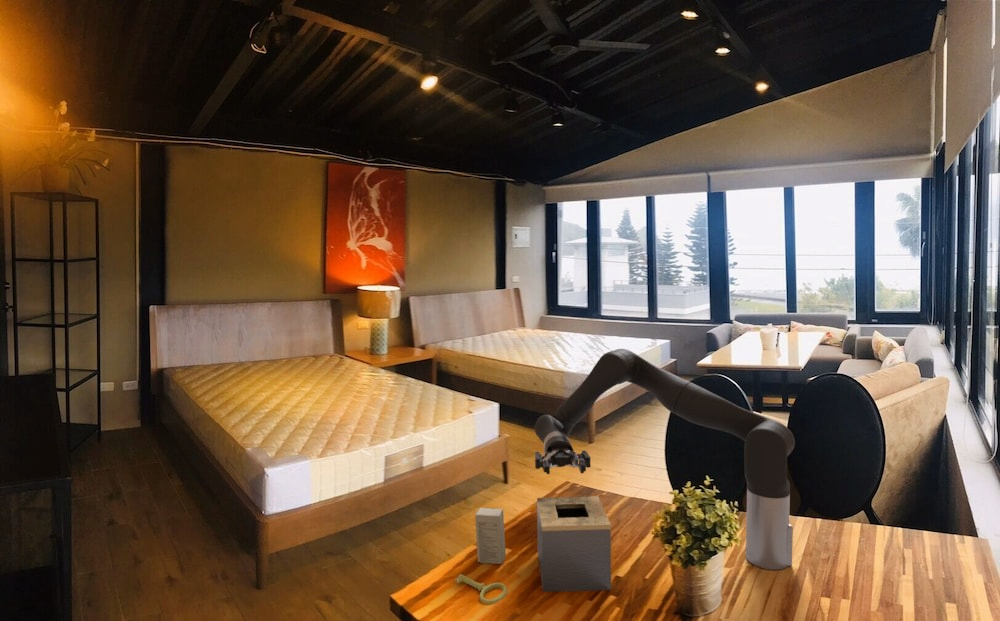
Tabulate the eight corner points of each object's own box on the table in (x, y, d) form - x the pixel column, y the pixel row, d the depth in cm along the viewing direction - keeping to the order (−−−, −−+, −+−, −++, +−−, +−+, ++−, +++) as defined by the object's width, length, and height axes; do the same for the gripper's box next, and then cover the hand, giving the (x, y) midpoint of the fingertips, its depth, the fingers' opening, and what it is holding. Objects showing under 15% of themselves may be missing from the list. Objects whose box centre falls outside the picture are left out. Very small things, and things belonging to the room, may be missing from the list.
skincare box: (505, 556, 144) (504, 508, 142) (501, 565, 139) (500, 516, 138) (480, 553, 145) (479, 506, 144) (476, 562, 141) (474, 514, 140)
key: (458, 581, 134) (458, 572, 133) (509, 589, 130) (509, 580, 130) (446, 598, 127) (446, 589, 127) (499, 608, 123) (499, 599, 123)
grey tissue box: (598, 555, 143) (598, 496, 142) (610, 590, 128) (610, 524, 127) (537, 556, 143) (536, 498, 141) (543, 591, 128) (542, 526, 126)
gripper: (532, 435, 160) (536, 456, 144) (583, 434, 160) (593, 454, 144) (532, 462, 161) (537, 485, 144) (583, 460, 161) (594, 483, 145)
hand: (565, 470), depth 144 cm, fingers open, 8 cm apart
